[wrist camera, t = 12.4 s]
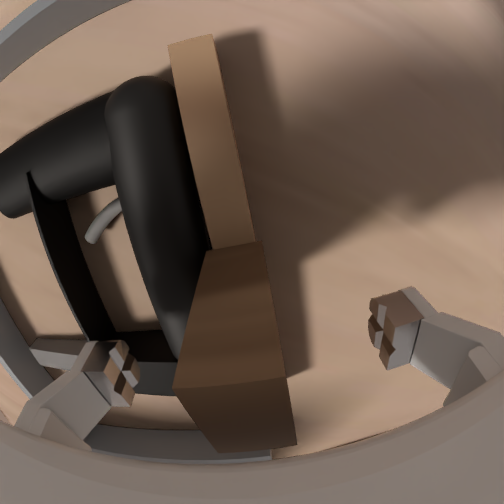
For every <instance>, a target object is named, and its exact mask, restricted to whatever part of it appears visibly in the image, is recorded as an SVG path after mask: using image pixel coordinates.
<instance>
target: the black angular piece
mask: <svg viewBox="0 0 504 504" xmlns="http://www.w3.org/2000/svg"><path fill="white" fill-rule="evenodd" d="M112 185H116V189H117V193H118V197H119V198H117V199H115V200H114V201H112V202H111V203H109V204H108V205H107V206H106V207H105V208H104V209H103V210H102V211H101V212H100V213H99V214H98V215H97V217H96V218H95V219H94V221H93V222H92V224H91V225H90V227H89V229H88V230H87V232H86V235H85V239H86V241H88V242H89V243H91V244H95V243H97V241H98V239H99V237H100V235H101V234H102V232H103V231H104V229H105V228H106V226H107V225H108V224H109V223H110V221H111V220H112V219H113V218H114V217H115V216H116V215H117V214H119V213H120V212H121V211H122V213H123V216H124V220H125V224H126V227H127V231H128V234H129V237H130V241H131V244H132V247H133V251H134V254H135V257H136V260H137V263H138V266H139V269H140V272H141V275H142V278H143V281H144V283H145V286H146V289H147V292H148V294H149V297H150V300H151V302H152V305H153V308H154V310H155V313H156V315H157V318H158V320H159V323H160V325H161V328H162V330H149V331H131V332H116V330H115V328H114V326H113V324H112V322H111V320H110V318H109V316H108V313H107V311H106V309H105V307H104V305H103V303H102V300H101V298H100V296H99V294H98V291H97V289H96V286H95V284H94V282H93V279H92V277H91V274H90V272H89V269H88V266H87V264H86V261H85V258H84V256H83V253H82V250H81V247H80V244H79V241H78V238H77V235H76V232H75V229H74V226H73V222H72V219H71V216H70V212H69V209H68V205H67V201H66V199H69V198H72V197H75V196H78V195H81V194H85V193H88V192H91V191H95V190H98V189H101V188H105V187H108V186H112ZM0 211H1V213H2V214H4V215H5V216H6V217H8V218H17V217H20V216H22V215H25V214H27V213H30V212H33V214H34V217H35V221H36V224H37V227H38V230H39V233H40V236H41V239H42V242H43V245H44V248H45V251H46V254H47V256H48V259H49V261H50V264H51V267H52V269H53V272H54V274H55V276H56V279H57V281H58V283H59V286H60V288H61V290H62V292H63V295H64V297H65V299H66V301H67V303H68V305H69V307H70V309H71V311H72V313H73V315H74V317H75V319H76V321H77V323H78V325H79V327H80V328H81V330H82V332H83V334H84V336H85V337H86V339H87V340H66V339H38V338H37V339H36V340H35V341H34V343H33V344H32V345H31V346H30V348H29V349H30V351H31V352H32V354H33V355H34V357H35V358H36V360H37V361H38V362H39V364H40V365H43V366H48V367H52V368H57V369H63V370H68V371H70V370H71V368H72V366H73V364H74V363H75V361H76V359H77V357H78V356H79V354H80V352H81V350H82V349H83V347H84V345H85V344H86V343H87V342H89V341H104V340H123V341H125V342H126V344H127V345H128V347H129V354H130V355H132V356H133V357H135V359H136V360H137V362H138V364H139V367H140V379H139V382H138V384H136V385H135V386H134V387H133V389H134V391H135V393H137V394H148V395H161V396H176V394H175V393H174V391H173V390H172V386H173V381H174V377H175V372H176V368H177V363H178V359H179V355H180V350H181V346H182V342H183V338H184V334H185V330H186V326H187V322H188V318H189V314H190V310H191V306H192V302H193V298H194V294H195V291H196V287H197V283H198V279H199V276H200V272H201V268H202V265H203V261H204V258H205V254H206V251H209V250H211V248H210V243H209V238H208V234H207V229H206V224H205V219H204V214H203V210H202V207H200V204H199V199H198V194H197V189H196V184H195V178H194V173H193V168H192V163H191V159H190V154H189V150H188V145H187V141H186V136H185V132H184V127H183V122H182V118H181V113H180V108H179V103H178V98H177V93H176V90H175V88H174V87H173V86H172V85H171V84H170V83H168V82H167V81H165V80H163V79H161V78H158V77H154V76H140V77H135V78H132V79H130V80H128V81H126V82H124V83H123V84H121V85H120V86H119V87H118V88H116V90H115V91H112V92H110V93H107V94H105V95H103V96H100V97H98V98H96V99H93V100H91V101H89V102H87V103H85V104H82V105H80V106H78V107H76V108H74V109H72V110H70V111H68V112H66V113H64V114H63V115H61V116H59V117H57V118H55V119H53V120H51V121H50V122H48V123H46V124H44V125H43V126H41V127H39V128H38V129H36V130H34V131H33V132H31V133H30V134H28V135H26V136H25V137H23V138H22V139H20V140H19V141H17V142H16V143H14V144H13V145H12V146H10V147H9V148H7V149H6V150H4V151H3V152H2V153H0Z"/></svg>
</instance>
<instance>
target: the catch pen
mask: <svg viewBox="0 0 504 504" xmlns="http://www.w3.org/2000/svg"><path fill="white" fill-rule="evenodd" d="M128 1H130V0H37V1H36V2H34V3H33V4H32V5H30V6H29V7H28V8H27V9H25V10H24V11H23V12H22V13H20V14H19V15H18V16H17V17H16V18H14V19H13V20H12V21H11V22H10V23H9V24H7V25H6V26H5V27H4V28H3V29H2V30H1V31H0V82H1V81H2V80H3V79H4V78H5V77H6V76H7V75H9V74H10V73H11V72H12V71H13V70H14V69H16V68H17V67H18V66H19V65H21V64H22V63H23V62H24V61H26V60H27V59H28V58H30V57H31V56H32V55H34V54H35V53H36V52H38V51H39V50H40V49H42V48H43V47H45V46H46V45H48V44H49V43H51V42H52V41H54V40H55V39H57V38H58V37H60V36H61V35H63V34H65V33H66V32H68V31H70V30H71V29H73V28H75V27H76V26H78V25H80V24H82V23H84V22H85V21H87V20H89V19H91V18H93V17H95V16H97V15H99V14H101V13H103V12H105V11H107V10H110V9H112V8H114V7H116V6H118V5H121V4H123V3H126V2H128ZM29 348H30V347H29V346H28V344H27V343H26V341H25V340H24V338H23V336H22V335H21V333H20V332H19V330H18V328H17V327H16V325H15V323H14V322H13V320H12V318H11V316H10V315H9V313H8V311H7V309H6V307H5V305H4V304H3V302H2V300H1V298H0V363H1V364H2V365H3V367H4V368H5V369H6V371H7V372H8V373H9V375H10V376H11V377H12V379H13V380H14V381H15V382H16V383H17V385H18V386H19V387H20V388H21V389H22V391H23V392H24V393H25V394H26V395H27V396H28V398H29V399H31V398H32V397H34V396H35V395H36V394H38V393H39V392H40V391H41V390H43V389H44V388H45V387H47V386H48V385H49V384H51V383H52V382H53V381H54V380H53V379H52V377H51V376H50V375H49V373H48V372H47V371H46V370H45V368H44V367H43V366H42V365H40V364H39V362H38V361H37V360H36V358H35V357H34V355H33V354H32V352H31V351H30V349H29ZM83 441H84V442H85V443H86V444H88V445H89V446H90V447H91V449H92V451H91V452H95V453H100V454H105V455H110V456H115V457H121V458H128V459H135V460H142V461H151V462H162V463H177V464H230V463H246V462H257V461H266V460H272V453H271V449H267V450H258V451H248V452H235V453H218V452H217V451H216V450H215V449H214V447H213V446H212V445H211V443H210V442H209V441H208V440H207V438H206V437H205V436H204V434H203V433H202V432H201V430H150V429H135V428H124V427H115V426H107V425H99V424H97V425H96V426H95V427H94V428H93V429H92V430H91V431H90V432H89V434H88V435H87V436H86V437H85V438H84V439H83Z"/></svg>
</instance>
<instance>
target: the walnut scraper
mask: <svg viewBox="0 0 504 504" xmlns="http://www.w3.org/2000/svg"><path fill="white" fill-rule="evenodd" d="M168 51H169V56H170V62H171V67H172V73H173V78H174V83H175V88H176V93H177V98H178V103H179V108H180V113H181V118H182V122H183V127H184V132H185V136H186V141H187V145H188V150H189V154H190V159H191V163H192V167H193V172H194V176H195V180H196V184H197V188H198V193H199V197H200V201H201V205H202V209H203V213H204V217H205V221H206V225H207V228H208V232H209V236H210V240H211V244H212V248H213V250H209V251H206V254H205V258H204V261H203V265H202V268H201V272H200V276H199V279H198V283H197V287H196V291H195V294H194V298H193V302H192V306H191V310H190V314H189V318H188V322H187V326H186V330H185V334H184V338H183V342H182V346H181V350H180V355H179V359H178V363H177V368H176V372H175V377H174V381H173V386H172V390H173V391H174V393H175V394H176V396H177V397H178V399H179V400H180V402H181V403H182V405H183V406H184V408H185V409H186V411H187V412H188V414H189V415H190V417H191V418H192V419H193V421H194V422H195V424H196V425H197V426H198V428H199V429H200V430H201V432H202V433H203V434H204V436H205V437H206V438H207V440H208V441H209V442H210V443H211V445H212V446H213V447H214V449H215V450H216V451H217V452H218V453H235V452H248V451H258V450H267V449H275V448H282V447H288V446H294V445H297V439H296V433H295V427H294V421H293V415H292V408H291V402H290V396H289V390H288V384H287V379H286V373H285V367H284V361H283V355H282V349H281V344H280V338H279V332H278V326H277V321H276V315H275V310H274V304H273V299H272V293H271V288H270V282H269V277H268V271H267V266H266V261H265V255H264V250H263V245H262V241H257V242H256V238H255V233H254V228H253V223H252V218H251V213H250V208H249V203H248V198H247V193H246V188H245V183H244V178H243V173H242V168H241V163H240V159H239V154H238V149H237V144H236V139H235V134H234V129H233V124H232V120H231V115H230V110H229V105H228V100H227V95H226V91H225V86H224V81H223V76H222V72H221V67H220V62H219V57H218V53H217V49H216V46H215V43H214V39H213V36H212V34H209V35H204V36H200V37H196V38H192V39H188V40H184V41H181V42H177V43H174V44H170V45H168Z"/></svg>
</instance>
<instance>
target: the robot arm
mask: <svg viewBox="0 0 504 504" xmlns="http://www.w3.org/2000/svg"><path fill="white" fill-rule="evenodd" d="M369 309H370V311H371V312H372V316H371V317H370V318H369V320H368V331H369V336H370V339H371V342H372V344H373V346H374V347H376V348H378V349H380V353H379V357H380V359H381V361H382V363H383V364H384V366H385V368H386V370H390V369H393V368H396V367H399V366H402V365H405V364H408V363H410V364H411V365H412V366H414V367H415V368H417V369H418V370H420V371H422V372H423V373H425V374H426V375H428V376H430V377H431V378H433V379H435V380H436V381H438V382H439V383H441V384H443V385H444V386H446V387H447V388H449V389H451V390H450V392H449V393H448V395H447V397H446V399H445V401H444V403H443V406H444V407H442V408H440V409H438V410H436V411H434V412H432V413H430V414H428V415H426V416H424V417H422V418H419V419H417V420H415V421H413V422H410V423H408V424H405V425H403V426H400V427H398V428H395V429H393V430H390V431H387V432H385V433H382V434H379V435H376V436H373V437H370V438H367V439H364V440H361V441H358V442H354V443H351V444H347V445H344V446H340V447H336V448H332V449H328V450H324V451H319V452H315V453H310V454H305V455H299V456H294V457H288V458H281V459H274V460H266V461H257V462H246V463H230V464H177V463H162V462H151V461H142V460H135V459H128V458H121V457H115V456H110V455H105V454H100V453H95V452H91V451H92V449H91V447H90V446H89V445H88V444H86V443H85V442H84V441H83V439H84V438H85V437H86V436H87V435H88V434H89V432H90V431H91V430H92V429H93V428H94V427H95V426H96V425H97V423H98V422H99V421H100V420H101V419H102V418H103V417H104V415H105V414H106V413H107V412H108V411H109V410H110V409H111V406H116V407H131V404H132V401H133V398H134V395H135V391H134V389H133V387H134V386H135V385H136V384H138V382H139V379H140V367H139V364H138V362H137V360H136V359H135V357H133V356H132V355H130V354H129V347H128V345H127V344H126V342H125V341H123V340H104V341H89V342H87V343H86V344H85V345H84V347H83V349H82V350H81V352H80V354H79V356H78V357H77V359H76V361H75V363H74V364H73V366H72V368H71V370H70V371H66V372H65V373H64V374H62V375H61V376H60V377H58V378H57V379H56V380H55V381H53V382H52V383H51V384H49V385H48V386H47V387H45V388H44V389H43V390H41V391H40V392H39V393H38V394H36V395H35V396H34V397H32V398H31V399H30V400H29V401H27V402H26V404H25V406H24V408H23V410H22V412H21V414H20V416H19V418H18V420H17V422H16V424H15V426H12V425H10V424H8V423H6V422H4V421H1V420H0V504H504V337H503V336H502V334H501V333H500V332H497V331H494V330H491V329H489V328H486V327H483V326H480V325H477V324H475V323H472V322H469V321H466V320H463V319H461V318H458V317H455V316H452V315H449V314H447V313H444V312H440V313H438V312H437V311H436V310H435V309H434V308H433V307H432V306H431V304H430V303H429V302H428V301H427V300H426V299H425V298H424V297H423V296H422V295H421V294H420V293H419V292H418V291H417V290H416V288H414V287H412V286H410V287H407V288H404V289H401V290H398V291H396V292H392V293H389V294H385V295H382V296H378V297H374V298H371V301H370V306H369Z"/></svg>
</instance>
